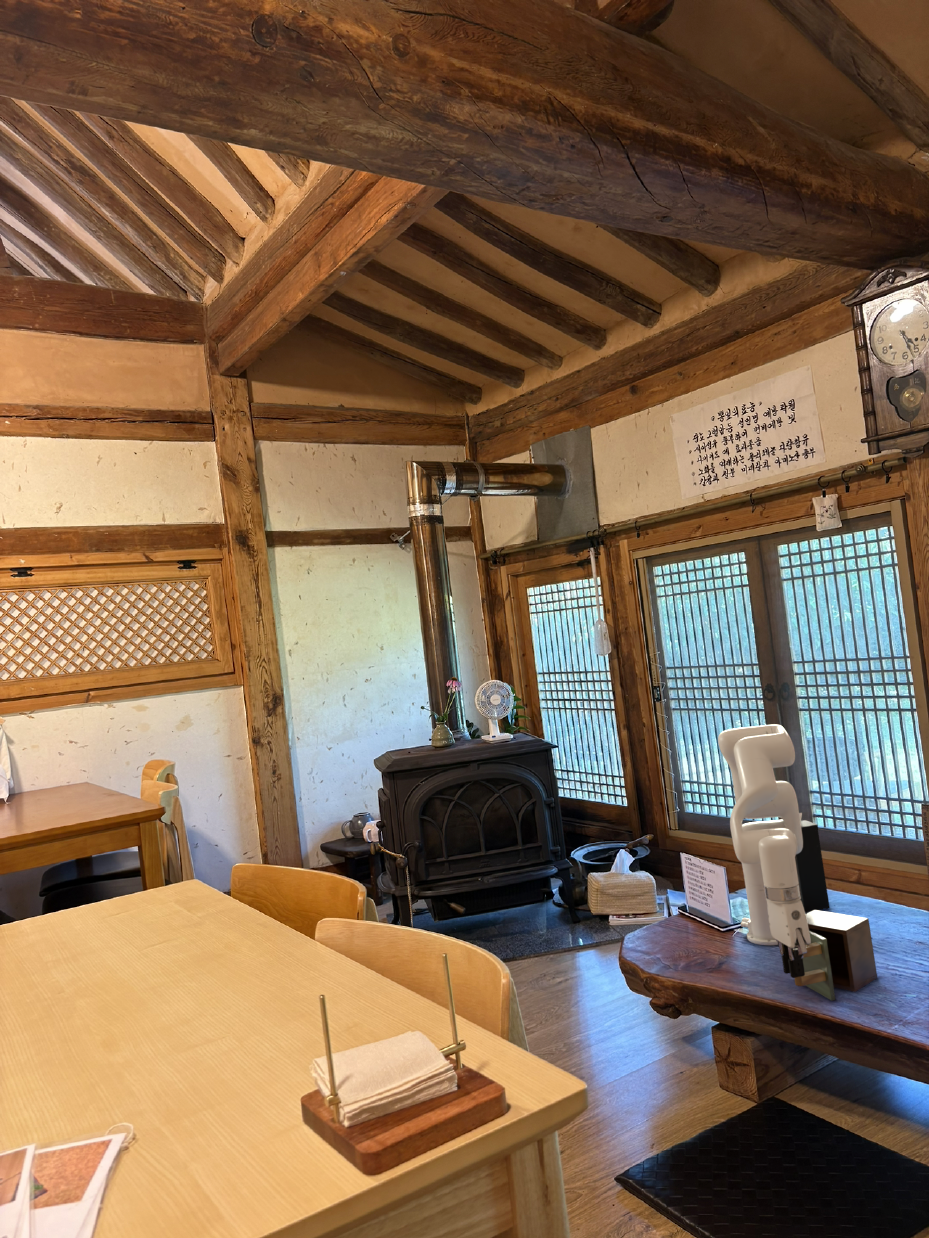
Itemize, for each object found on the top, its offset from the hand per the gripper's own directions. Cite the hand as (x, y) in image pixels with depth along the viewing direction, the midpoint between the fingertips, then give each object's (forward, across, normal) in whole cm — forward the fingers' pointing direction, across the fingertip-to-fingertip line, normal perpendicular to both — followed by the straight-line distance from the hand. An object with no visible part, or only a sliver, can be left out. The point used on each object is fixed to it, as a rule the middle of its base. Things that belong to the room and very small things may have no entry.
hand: (794, 973), depth 202 cm
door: (+7, +5, -4) cm, 9 cm away
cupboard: (+7, +9, -15) cm, 19 cm away
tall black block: (+7, +59, -38) cm, 71 cm away
